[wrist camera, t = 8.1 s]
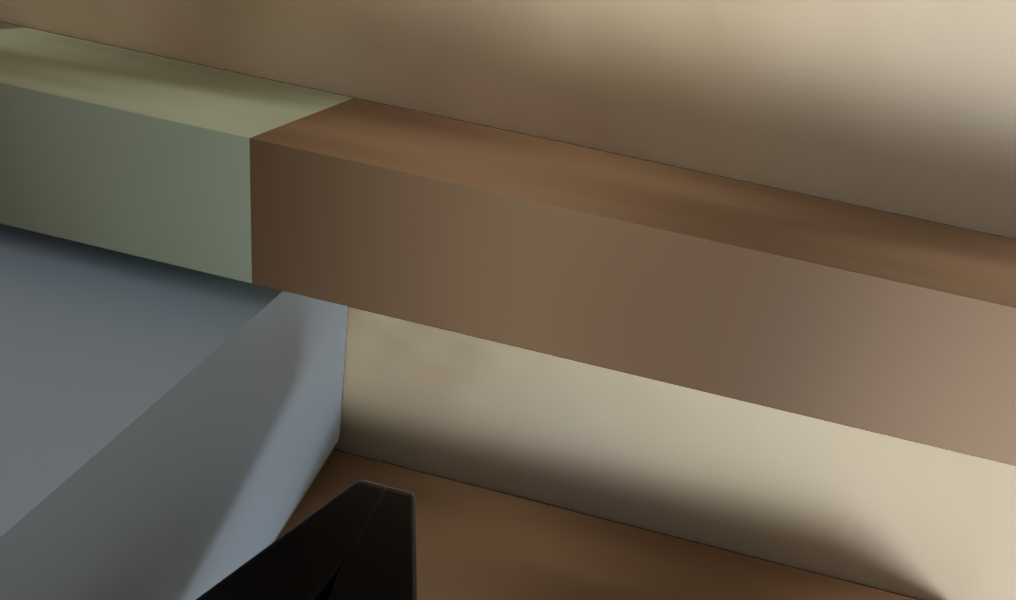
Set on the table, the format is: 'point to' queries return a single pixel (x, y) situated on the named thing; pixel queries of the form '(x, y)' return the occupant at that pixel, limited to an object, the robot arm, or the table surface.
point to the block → (151, 419)
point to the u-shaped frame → (523, 284)
